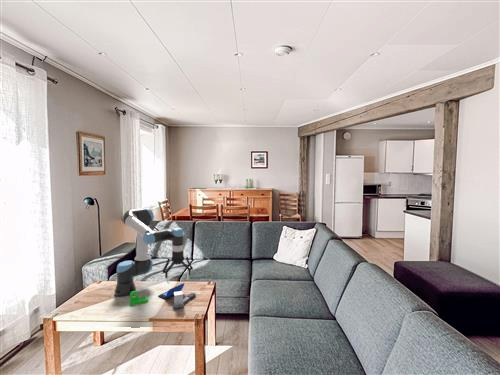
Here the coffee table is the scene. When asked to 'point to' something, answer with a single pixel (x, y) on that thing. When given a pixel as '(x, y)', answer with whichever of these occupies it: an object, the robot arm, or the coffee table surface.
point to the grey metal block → (178, 298)
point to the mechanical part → (137, 299)
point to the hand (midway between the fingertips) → (177, 281)
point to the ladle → (184, 301)
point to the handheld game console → (171, 292)
